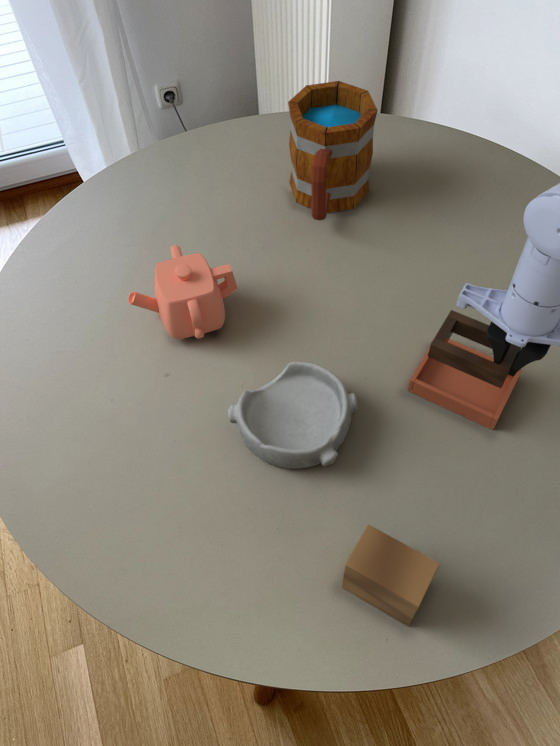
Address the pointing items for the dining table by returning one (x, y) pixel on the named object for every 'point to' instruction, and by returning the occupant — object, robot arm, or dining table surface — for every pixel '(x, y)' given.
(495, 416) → the holder
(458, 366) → the frame
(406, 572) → the stand
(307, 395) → the dish
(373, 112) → the mug
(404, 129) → the dining table surface
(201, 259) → the teapot
